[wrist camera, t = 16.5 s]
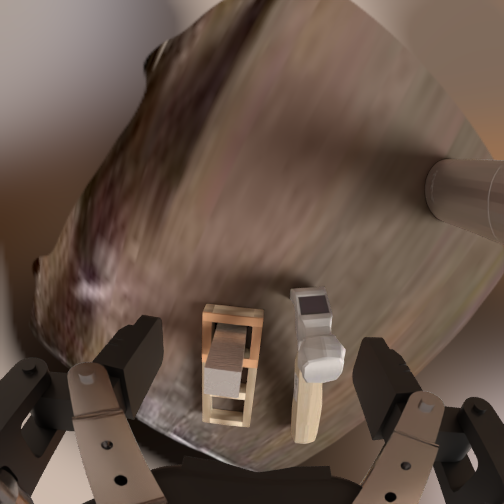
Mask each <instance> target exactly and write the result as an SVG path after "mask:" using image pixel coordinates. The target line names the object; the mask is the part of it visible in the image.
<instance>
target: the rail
mask: <svg viewBox="0 0 504 504" xmlns="http://www.w3.org/2000/svg"><path fill="white" fill-rule="evenodd" d="M263 313H264V310H262V309H252V308H242V307H233V306H224V305H215V304H206V306H205V308H204V310H203V318H202V410H203V422H209V423H216V424H224V425H232V426H242V427H249V426H250V418H251V411H252V404H253V396H254V389H255V381H256V373H257V366H258V358H259V350H260V342H261V334H262V326H263ZM215 322H218V323H226V324H235V325H245V326H253V329H252V339H251V348H250V349H248V348H245V350H244V358H243V366H242V367H247V368H248V376H247V383H240V390H239V398H232V397H224V396H217V395H210V394H204V367H205V364H206V360H207V357H208V354H209V350H210V347H211V344H212V341H213V338H214V323H215ZM212 396H214V397H222V398H230V399H239V400H245V403H244V412H237V411H228V410H220V409H213V408H212Z"/></svg>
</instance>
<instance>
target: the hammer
mask: <svg viewBox="0 0 504 504" xmlns="http://www.w3.org/2000/svg"><path fill="white" fill-rule="evenodd" d="M290 300H291V301H292V302H293V304H294V307H295V315H296V336H297V344H298V352H297V355H296V358H295V380H294V394H293V403H292V419H291V436H292V437H293V439H294V441H295V443H302V444H306V443H310V442H313V441H314V440H315V438H316V435H317V431H318V426H319V420H320V414H321V408H322V383H325V382H329V381H333V380H336V379H337V378H338V377H339V376H340V374H341V373H342V370H343V365H344V356H345V348H344V347H343V346H342V345H341V343H340V342H339V341H338V340H337V339H336V335H333V334H331V323H332V310H331V306H330V303H329V299H328V296H327V292H326V289H325V286H323V287H310V288H296V289H291V290H290Z"/></svg>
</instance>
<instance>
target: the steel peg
mask: <svg viewBox="0 0 504 504" xmlns="http://www.w3.org/2000/svg"><path fill="white" fill-rule="evenodd" d="M246 333H247V326H245V325H235V324H226V323H218V325H217V328H216V331H215V334H214V338H213V341H212V344H211V347H210V350H209V354H208V357H207V360H206V364H205V367H204V394H210V395H217V396H224V397H232V398H239V390H240V382H241V374H242V366H243V358H244V350H245V342H246Z"/></svg>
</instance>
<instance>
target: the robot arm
mask: <svg viewBox="0 0 504 504" xmlns="http://www.w3.org/2000/svg"><path fill="white" fill-rule="evenodd" d="M425 196H426V201H427V204H428V207H429V209H430V211H431V212H432V213H433V215H434V216H435V217H436V218H438V219H439V220H441V221H443V222H446V223H449V224H451V225H454V226H457V227H459V228H462V229H464V230H467V231H470V232H472V233H475V234H477V235H480V236H482V237H485V238H487V239H490V240H492V241H495V242H497V243H500V244H502V245H504V161H503V160H479V159H444V160H441V161H439V162H437V163H436V164H435V165H434V166H433V167H432V168H431V170H430V171H429V173H428V176H427V179H426V184H425ZM163 354H164V349H163V332H162V320H161V318H159V317H152V316H146V315H142V316H141V317H140V318H139V319H138V320H137V322H136V323H135V324H134V325H127V326H125V327H123V328H122V329H120V330H118V332H117V333H116V334H115V335H114V336H113V338H112V339H111V340H110V341H109V342H108V344H107V345H106V346H105V347H104V348H103V349H102V351H101V352H100V353H99V354H98V356H97V357H96V358H95V359H94V360H93V362H83V363H79V364H77V365H75V366H73V367H72V368H71V369H70V370H69V372H68V373H56V372H49V370H48V367H47V364H46V363H45V362H44V361H43V360H41V359H39V358H26V359H23V360H21V361H19V362H18V363H17V364H15V366H14V367H13V368H12V369H11V370H10V371H9V372H8V373H7V374H6V375H5V376H4V377H3V378H2V379H1V380H0V504H34V503H33V500H32V499H31V495H32V493H33V491H34V489H35V487H36V485H37V483H38V481H39V479H40V477H41V476H42V474H43V472H44V470H45V468H46V466H47V464H48V462H49V461H50V459H51V457H52V455H53V453H54V451H55V450H56V448H57V446H58V444H59V442H60V441H61V439H62V437H63V435H64V434H65V432H66V431H75V435H76V439H77V443H78V447H79V451H80V455H81V458H82V462H83V465H84V468H85V472H86V475H87V478H88V481H89V484H90V487H91V490H92V493H93V496H94V499H92V500H89V501H87V502H85V503H83V504H418V503H419V500H420V498H421V496H422V493H423V491H424V488H425V486H426V483H427V480H428V478H429V475H430V472H431V470H432V467H434V470H435V473H436V476H437V478H438V481H439V484H440V487H441V490H442V493H443V496H444V499H445V502H446V504H504V424H503V423H502V421H501V419H500V418H499V416H498V415H497V413H496V412H495V410H494V409H493V407H492V406H491V405H490V404H489V403H488V402H487V401H485V400H484V399H481V398H478V397H470V398H468V399H466V400H465V402H464V403H463V405H462V407H461V408H455V407H446V406H444V403H443V401H442V400H441V399H440V398H439V397H438V396H437V395H435V394H433V393H430V392H427V391H423V390H422V389H421V387H420V385H419V384H418V382H417V380H416V379H415V377H414V375H413V374H412V372H410V369H409V367H408V366H406V363H405V361H404V359H403V358H402V356H401V355H399V354H398V353H397V352H395V351H394V350H393V349H389V347H388V346H387V344H386V342H385V341H384V339H383V338H378V337H365V338H364V339H363V340H362V342H361V346H360V349H359V352H358V356H357V359H356V362H355V365H354V369H353V376H352V377H353V384H354V387H355V390H356V392H357V395H358V398H359V401H360V404H361V407H362V410H363V413H364V416H365V419H366V421H367V425H368V428H369V431H370V433H371V437H372V440H380V439H384V441H385V444H384V446H383V447H382V449H381V451H380V453H379V454H378V456H377V458H376V459H375V461H374V463H373V465H372V466H371V468H370V470H369V471H368V473H367V474H366V476H365V478H364V479H363V481H362V482H361V484H360V485H358V484H356V483H354V482H352V481H350V480H347V479H344V478H341V477H337V476H332V475H331V472H330V467H329V466H318V467H317V466H315V467H290V468H285V469H279V470H273V471H266V472H253V471H250V470H246V469H243V468H239V467H236V466H233V465H230V464H226V463H223V462H220V461H213V460H207V459H200V458H194V457H188V456H184V459H183V463H182V465H171V466H164V467H159V468H156V469H152V470H150V469H149V467H148V465H147V463H146V461H145V459H144V457H143V455H142V453H141V451H140V449H139V446H138V444H137V442H136V440H135V438H134V435H133V433H132V431H131V429H130V426H129V424H128V422H127V419H126V418H130V419H134V418H135V416H136V414H137V412H138V410H139V408H140V406H141V404H142V402H143V400H144V398H145V396H146V394H147V392H148V390H149V388H150V386H151V384H152V382H153V380H154V378H155V376H156V374H157V372H158V370H159V368H160V366H161V364H162V361H163ZM29 413H31V416H30V418H29V419H28V420H27V422H26V423H25V425H24V426H23V428H22V429H21V425H22V422H23V421H24V419H25V418H26V417H27V415H28V414H29ZM471 448H472V449H473V451H474V453H475V455H476V457H477V459H478V468H477V470H476V472H475V470H474V468H473V466H472V464H471V462H470V459H469V457H468V455H467V453H468V452H469V450H470V449H471Z"/></svg>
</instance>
